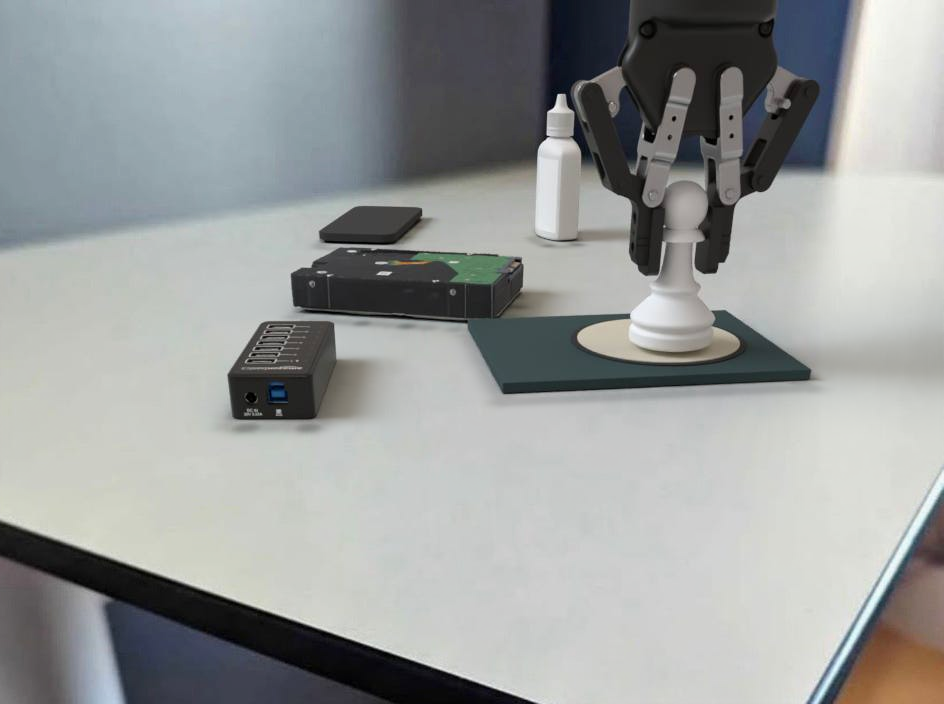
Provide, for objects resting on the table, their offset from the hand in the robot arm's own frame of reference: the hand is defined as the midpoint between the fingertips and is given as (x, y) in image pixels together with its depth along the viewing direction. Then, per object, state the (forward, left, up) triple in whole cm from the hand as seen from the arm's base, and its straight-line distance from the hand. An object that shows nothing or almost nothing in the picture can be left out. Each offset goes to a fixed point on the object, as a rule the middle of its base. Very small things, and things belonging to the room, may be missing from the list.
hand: (677, 270), depth 60 cm
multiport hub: (+23, +2, -5) cm, 24 cm away
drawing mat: (+2, -2, -5) cm, 6 cm away
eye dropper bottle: (-2, -41, -5) cm, 41 cm away
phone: (+15, -47, -5) cm, 50 cm away
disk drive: (+14, -17, -5) cm, 23 cm away
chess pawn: (0, 0, -4) cm, 4 cm away
